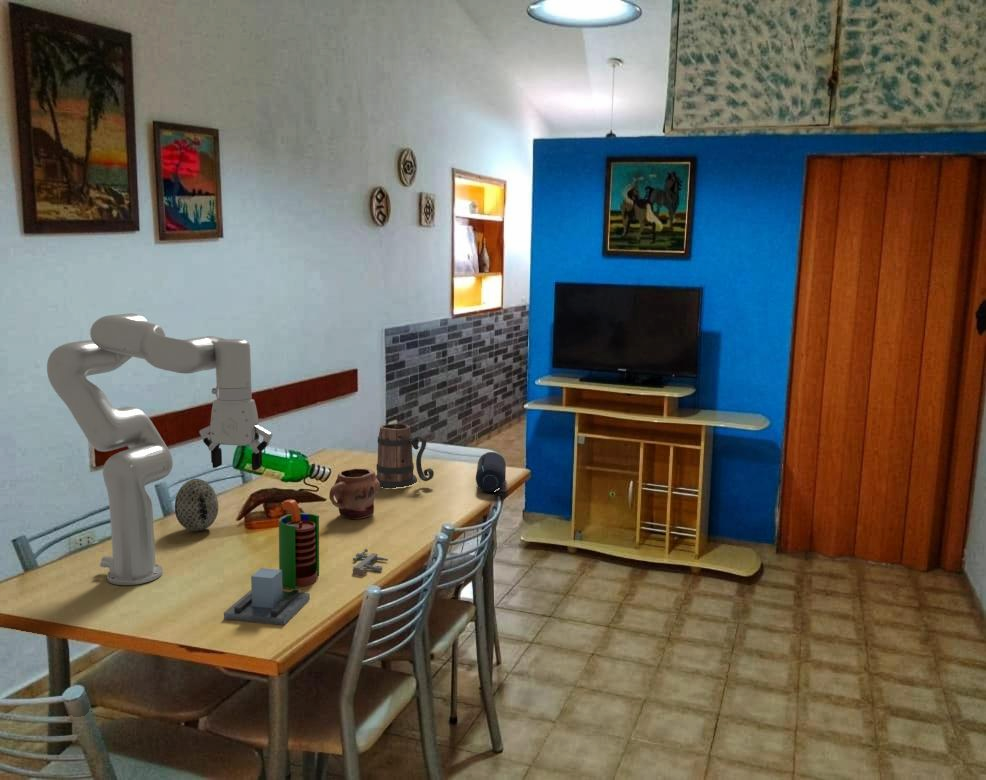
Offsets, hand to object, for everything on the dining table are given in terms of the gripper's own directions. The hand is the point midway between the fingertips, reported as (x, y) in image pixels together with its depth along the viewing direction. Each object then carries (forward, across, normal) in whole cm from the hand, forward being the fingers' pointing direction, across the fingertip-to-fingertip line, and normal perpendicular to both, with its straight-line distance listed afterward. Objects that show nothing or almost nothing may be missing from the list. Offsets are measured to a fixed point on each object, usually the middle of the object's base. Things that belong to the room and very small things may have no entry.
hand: (236, 467), depth 195 cm
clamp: (+31, +23, +24) cm, 46 cm away
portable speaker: (+31, +40, +105) cm, 116 cm away
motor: (+31, +10, +10) cm, 34 cm away
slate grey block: (+29, +10, -7) cm, 31 cm away
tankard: (+31, +10, +100) cm, 105 cm away
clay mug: (+31, +6, +61) cm, 68 cm away
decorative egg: (+31, -33, +39) cm, 60 cm away
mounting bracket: (+30, +10, -7) cm, 33 cm away
